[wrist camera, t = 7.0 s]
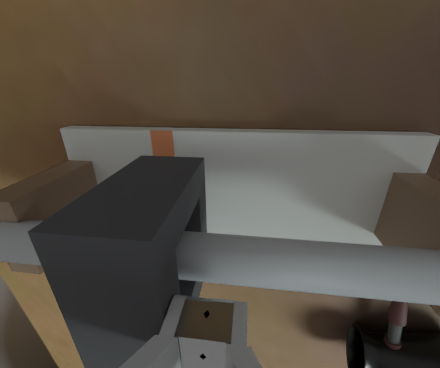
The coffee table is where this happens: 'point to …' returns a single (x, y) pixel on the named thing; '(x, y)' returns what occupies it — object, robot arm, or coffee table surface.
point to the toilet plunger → (393, 344)
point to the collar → (122, 254)
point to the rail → (269, 206)
